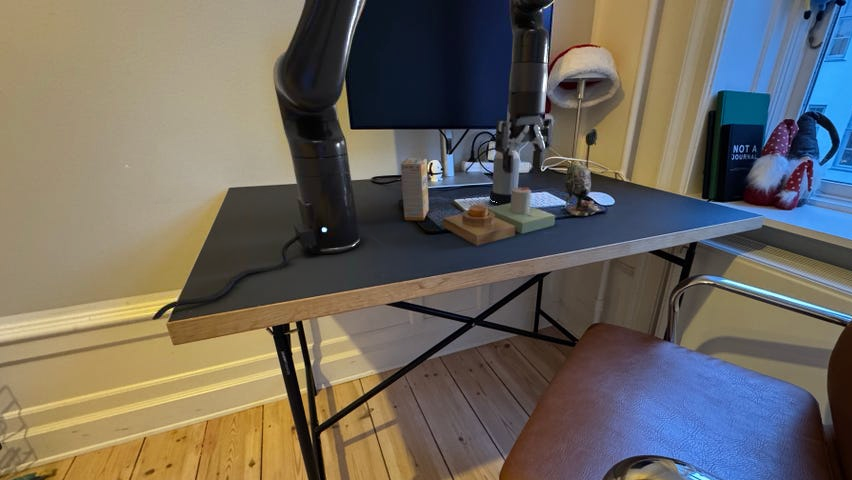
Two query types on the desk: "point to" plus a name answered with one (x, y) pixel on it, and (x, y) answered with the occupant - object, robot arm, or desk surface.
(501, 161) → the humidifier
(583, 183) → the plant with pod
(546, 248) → the desk surface
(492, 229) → the lamp base
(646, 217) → the desk surface
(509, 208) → the green base plate
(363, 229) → the desk surface
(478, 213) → the light button
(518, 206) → the dimmer knob
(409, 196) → the supplement box
